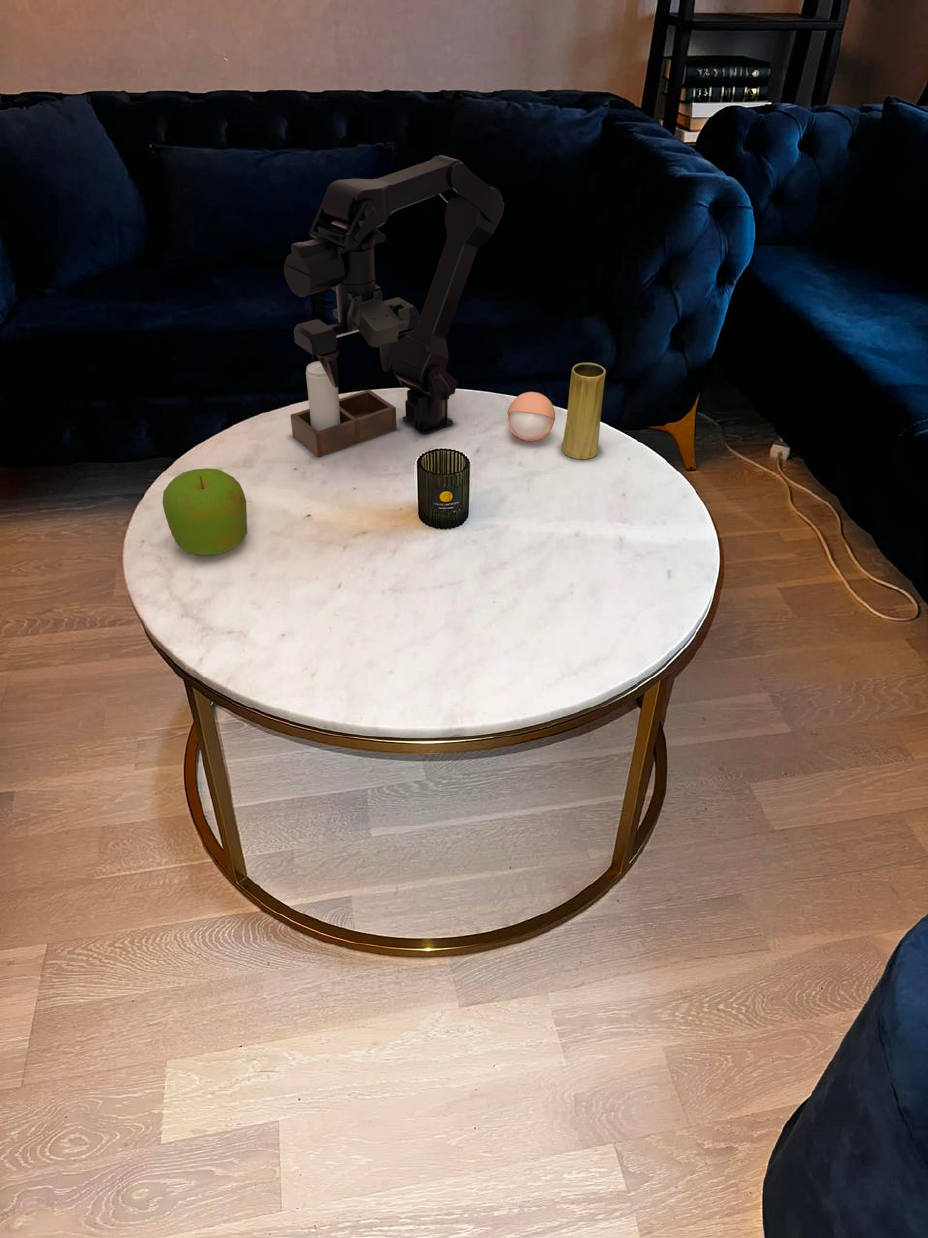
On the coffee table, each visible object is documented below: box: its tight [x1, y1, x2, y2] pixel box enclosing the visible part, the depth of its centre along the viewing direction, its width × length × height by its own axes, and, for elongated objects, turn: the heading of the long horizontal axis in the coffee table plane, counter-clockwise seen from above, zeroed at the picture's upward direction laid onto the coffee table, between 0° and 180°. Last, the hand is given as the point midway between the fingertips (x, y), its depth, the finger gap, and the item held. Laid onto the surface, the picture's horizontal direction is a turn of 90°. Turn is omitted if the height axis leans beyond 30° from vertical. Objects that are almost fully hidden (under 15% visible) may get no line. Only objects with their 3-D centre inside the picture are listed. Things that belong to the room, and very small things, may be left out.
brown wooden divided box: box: [290, 389, 397, 458], centre depth 156 cm, size 15×8×4 cm, turn 127°
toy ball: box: [506, 391, 556, 442], centre depth 155 cm, size 8×8×8 cm
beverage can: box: [305, 360, 340, 432], centre depth 152 cm, size 5×5×12 cm
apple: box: [161, 467, 248, 556], centre depth 130 cm, size 11×11×11 cm
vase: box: [560, 362, 607, 460], centre depth 150 cm, size 6×6×14 cm
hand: (361, 378), depth 145 cm, fingers open, 9 cm apart
